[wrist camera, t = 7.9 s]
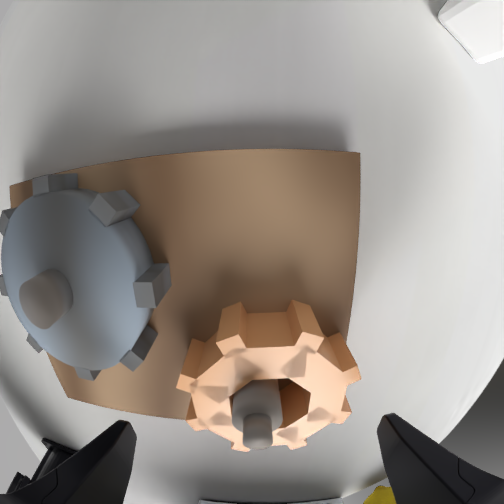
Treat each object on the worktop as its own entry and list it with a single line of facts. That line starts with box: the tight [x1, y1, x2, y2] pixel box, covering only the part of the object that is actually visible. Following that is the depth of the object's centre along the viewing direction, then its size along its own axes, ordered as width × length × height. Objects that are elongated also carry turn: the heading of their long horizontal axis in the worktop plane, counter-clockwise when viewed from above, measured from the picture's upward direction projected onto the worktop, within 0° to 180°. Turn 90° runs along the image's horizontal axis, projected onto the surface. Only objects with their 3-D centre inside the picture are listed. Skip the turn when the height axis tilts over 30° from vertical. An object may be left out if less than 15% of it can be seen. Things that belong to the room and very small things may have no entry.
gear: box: [176, 300, 361, 452], centre depth 10 cm, size 7×7×2 cm
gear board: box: [0, 149, 360, 450], centre depth 9 cm, size 16×13×5 cm
